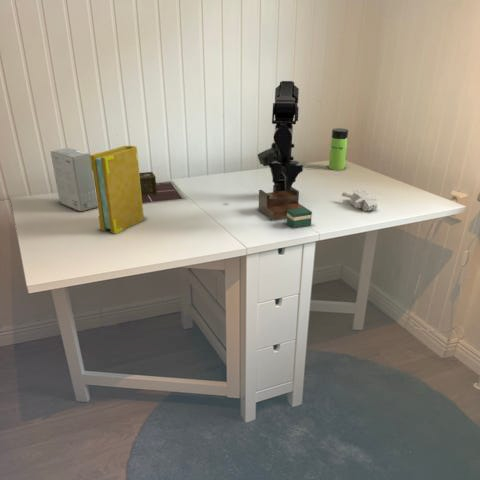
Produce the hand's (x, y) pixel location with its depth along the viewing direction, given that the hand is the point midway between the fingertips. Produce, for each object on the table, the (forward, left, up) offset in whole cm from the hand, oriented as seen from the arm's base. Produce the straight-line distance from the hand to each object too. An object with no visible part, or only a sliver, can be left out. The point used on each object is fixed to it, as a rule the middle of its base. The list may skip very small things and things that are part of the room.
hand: (281, 187), depth 178 cm
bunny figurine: (-35, -2, -12) cm, 37 cm away
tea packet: (-4, +6, -12) cm, 14 cm away
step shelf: (-4, -7, -12) cm, 15 cm away
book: (+52, -18, -12) cm, 56 cm away
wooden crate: (+36, -50, -12) cm, 63 cm away
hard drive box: (+64, -45, -12) cm, 79 cm away
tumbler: (-56, -52, -12) cm, 78 cm away
